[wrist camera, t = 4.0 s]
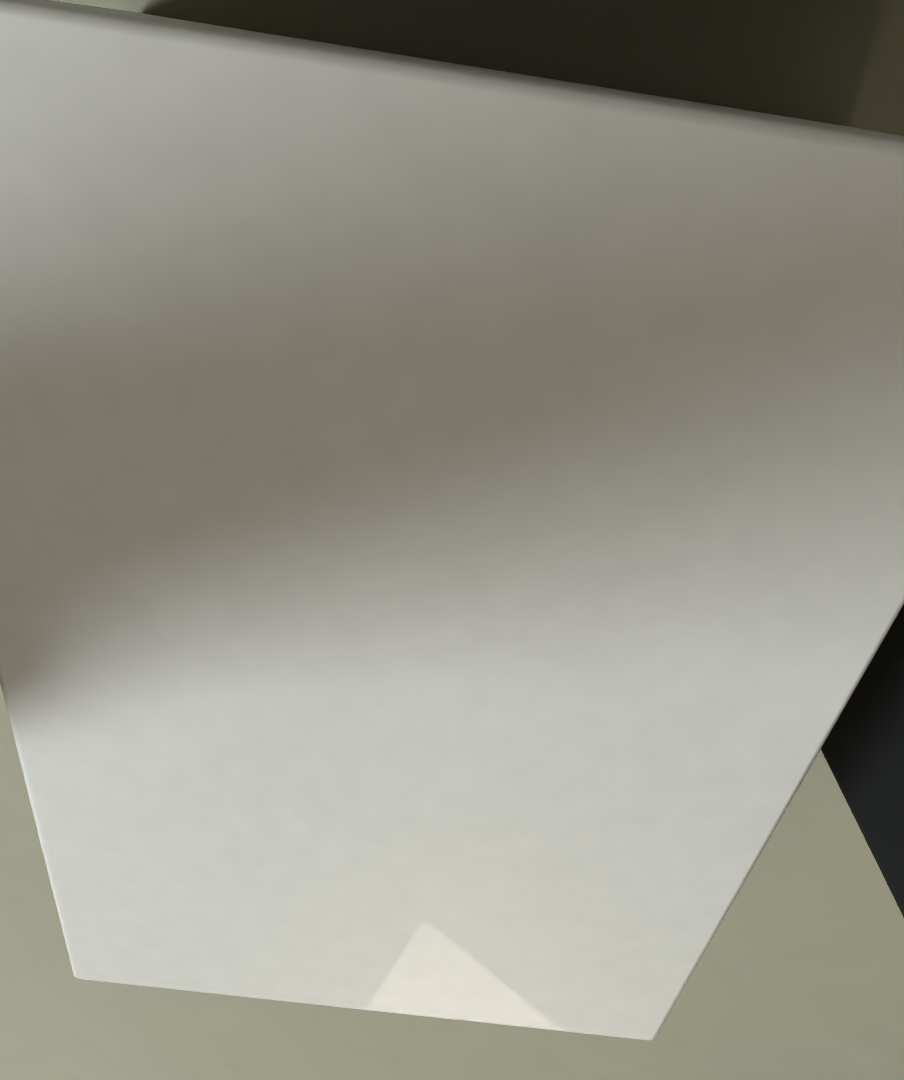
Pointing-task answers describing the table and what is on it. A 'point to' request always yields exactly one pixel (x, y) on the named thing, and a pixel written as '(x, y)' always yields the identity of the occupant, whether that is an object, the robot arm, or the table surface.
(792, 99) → the table surface
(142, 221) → the white rectangular block
